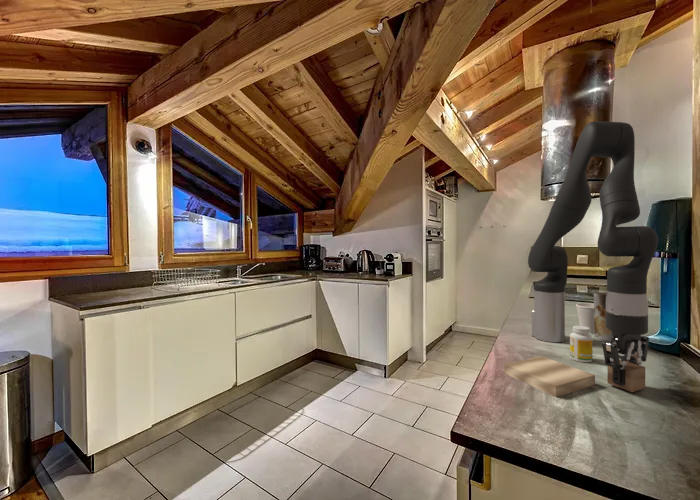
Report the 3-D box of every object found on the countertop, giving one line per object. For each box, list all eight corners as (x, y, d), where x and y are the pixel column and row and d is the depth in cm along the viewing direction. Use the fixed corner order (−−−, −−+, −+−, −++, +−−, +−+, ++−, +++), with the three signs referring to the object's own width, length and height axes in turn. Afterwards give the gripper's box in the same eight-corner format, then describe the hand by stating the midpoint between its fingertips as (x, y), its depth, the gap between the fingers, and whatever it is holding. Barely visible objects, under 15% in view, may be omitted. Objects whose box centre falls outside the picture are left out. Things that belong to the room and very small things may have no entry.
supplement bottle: (566, 358, 93) (565, 326, 93) (576, 354, 95) (576, 323, 95) (586, 364, 88) (585, 330, 88) (596, 360, 91) (596, 328, 90)
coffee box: (634, 343, 104) (634, 296, 104) (616, 344, 104) (616, 296, 103) (609, 335, 113) (609, 291, 113) (593, 336, 113) (592, 292, 112)
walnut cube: (607, 383, 75) (607, 362, 75) (620, 379, 77) (620, 359, 77) (632, 392, 71) (632, 370, 71) (645, 388, 72) (645, 367, 72)
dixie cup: (609, 334, 115) (609, 307, 115) (586, 334, 115) (586, 307, 115) (592, 327, 123) (591, 302, 123) (570, 328, 124) (570, 303, 123)
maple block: (504, 375, 84) (504, 364, 84) (541, 366, 89) (541, 356, 89) (555, 399, 71) (555, 386, 70) (595, 387, 76) (595, 375, 76)
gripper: (625, 305, 79) (625, 370, 80) (589, 310, 74) (589, 380, 75) (664, 311, 72) (663, 382, 73) (626, 317, 67) (626, 395, 68)
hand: (626, 381), depth 74 cm, fingers closed on walnut cube, 5 cm apart
